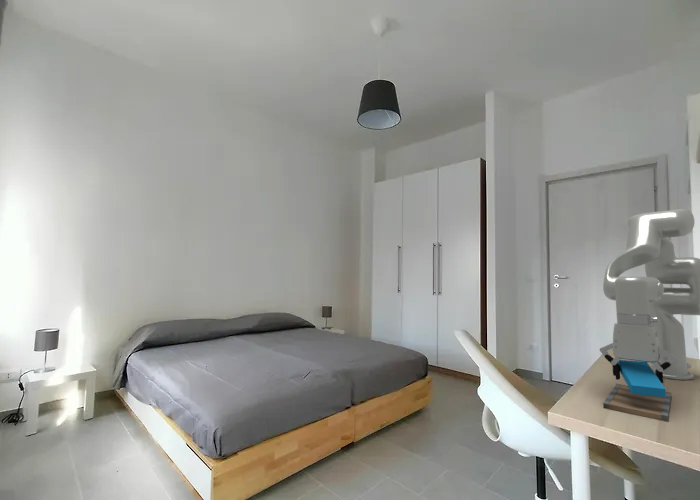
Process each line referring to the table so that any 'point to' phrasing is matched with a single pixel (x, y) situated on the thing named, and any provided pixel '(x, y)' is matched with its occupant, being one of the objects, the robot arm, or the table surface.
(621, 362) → the lever
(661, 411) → the ribbed board
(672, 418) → the table surface
